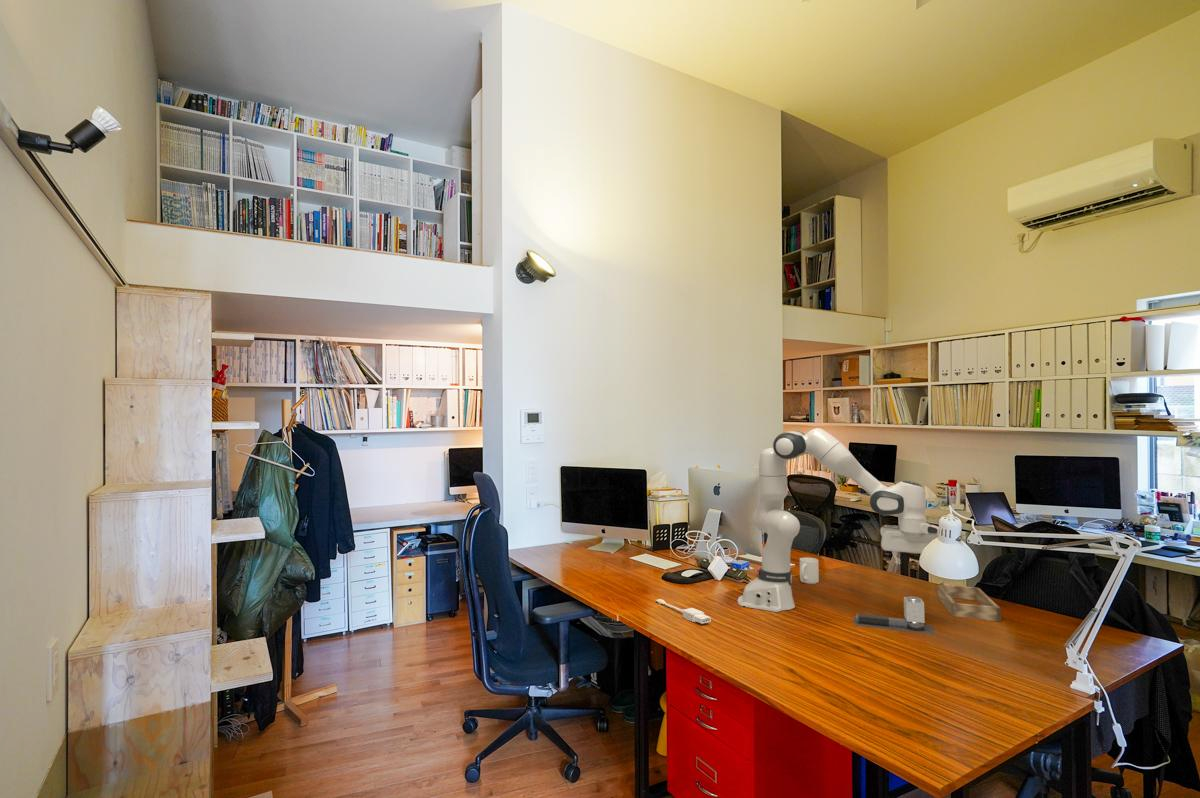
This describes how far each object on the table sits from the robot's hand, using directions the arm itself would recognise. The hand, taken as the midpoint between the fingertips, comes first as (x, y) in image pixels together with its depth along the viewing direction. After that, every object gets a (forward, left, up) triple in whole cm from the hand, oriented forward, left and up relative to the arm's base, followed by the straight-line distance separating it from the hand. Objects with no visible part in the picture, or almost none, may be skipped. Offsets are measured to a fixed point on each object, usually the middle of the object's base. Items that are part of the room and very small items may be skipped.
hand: (912, 565), depth 205 cm
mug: (-36, +52, -23) cm, 67 cm away
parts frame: (+24, +34, -23) cm, 48 cm away
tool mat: (-7, +1, -23) cm, 24 cm away
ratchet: (-8, 0, -22) cm, 24 cm away
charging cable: (-83, -11, -23) cm, 86 cm away
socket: (0, 0, -19) cm, 19 cm away
